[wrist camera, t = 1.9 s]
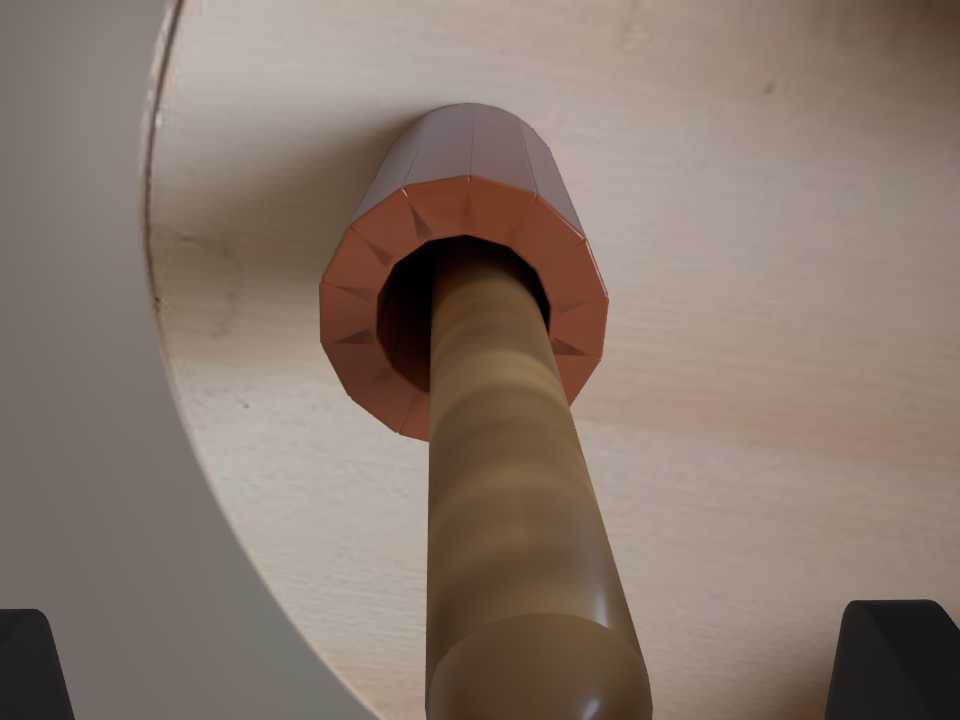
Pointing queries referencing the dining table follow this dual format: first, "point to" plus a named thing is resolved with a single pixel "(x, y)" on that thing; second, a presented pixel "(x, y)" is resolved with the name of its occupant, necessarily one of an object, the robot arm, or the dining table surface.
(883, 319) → the dining table surface
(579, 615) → the stick
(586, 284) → the crock
